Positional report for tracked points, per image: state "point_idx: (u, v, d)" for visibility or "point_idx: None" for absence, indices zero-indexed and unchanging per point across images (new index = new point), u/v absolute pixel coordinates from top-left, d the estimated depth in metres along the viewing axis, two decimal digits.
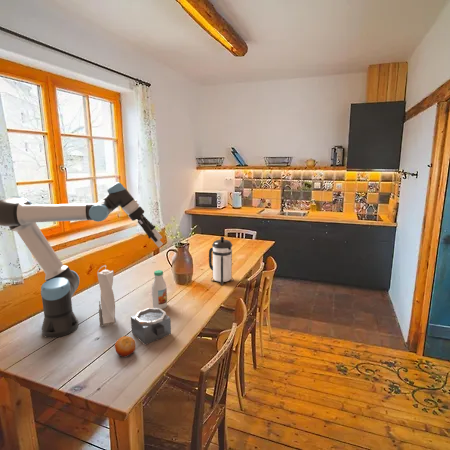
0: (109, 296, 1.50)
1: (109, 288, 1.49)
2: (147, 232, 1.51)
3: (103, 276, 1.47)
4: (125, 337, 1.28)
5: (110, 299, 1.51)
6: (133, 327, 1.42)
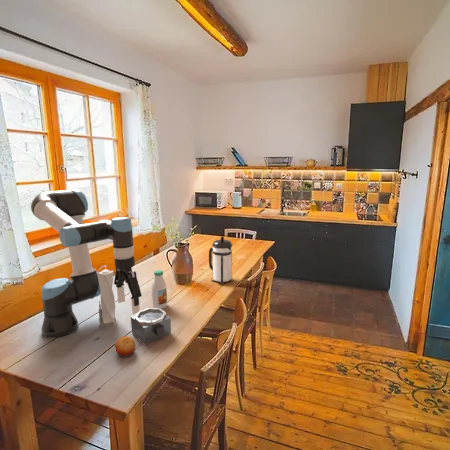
0: (109, 296, 1.50)
1: (109, 288, 1.50)
2: (136, 291, 1.18)
3: (103, 276, 1.48)
4: (125, 337, 1.28)
5: (110, 299, 1.51)
6: (133, 327, 1.42)
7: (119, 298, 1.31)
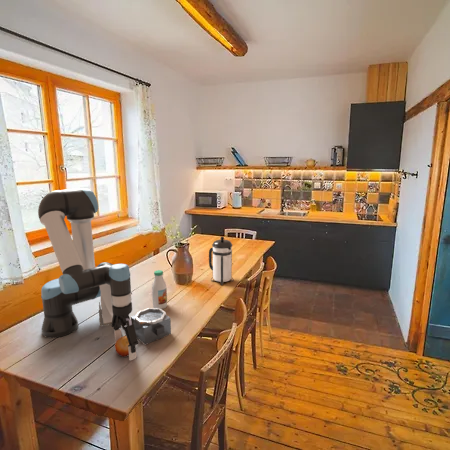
0: (109, 297, 1.49)
1: (109, 289, 1.48)
2: (132, 339, 1.19)
3: None
4: (125, 337, 1.28)
5: (110, 300, 1.50)
6: None
7: (116, 340, 1.32)
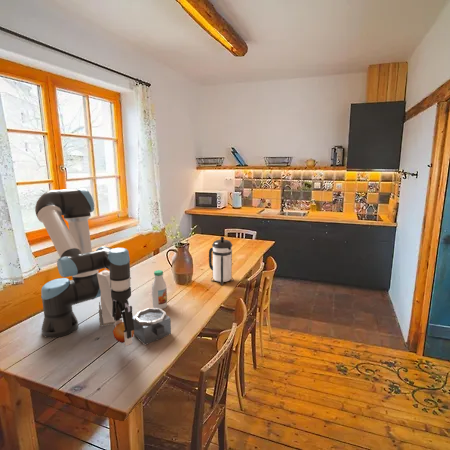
0: (109, 297, 1.50)
1: (109, 289, 1.48)
2: (129, 325, 1.20)
3: (103, 277, 1.46)
4: None
5: (110, 299, 1.50)
6: None
7: None
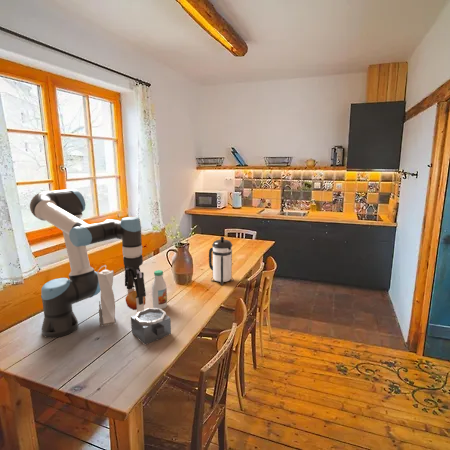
0: (109, 296, 1.50)
1: (109, 288, 1.49)
2: (141, 291, 1.24)
3: (103, 276, 1.47)
4: None
5: (110, 299, 1.51)
6: (133, 327, 1.42)
7: None
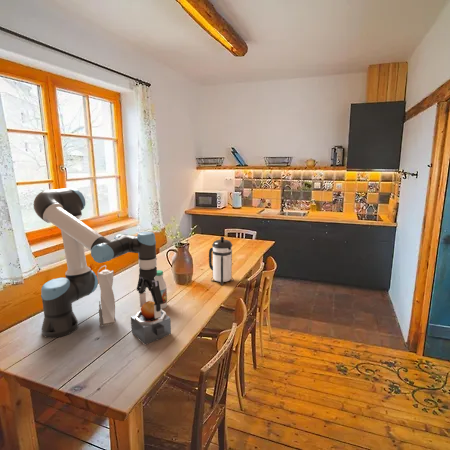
0: (109, 296, 1.50)
1: (109, 288, 1.50)
2: (158, 298, 1.33)
3: (103, 276, 1.48)
4: (150, 302, 1.42)
5: (110, 299, 1.51)
6: (133, 327, 1.42)
7: (141, 303, 1.45)
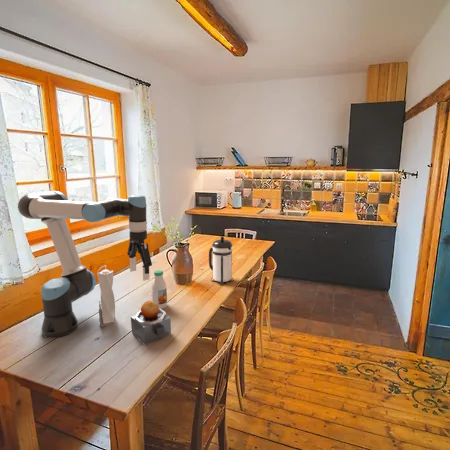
0: (109, 296, 1.50)
1: (109, 288, 1.50)
2: (147, 260, 1.34)
3: (103, 276, 1.48)
4: (150, 302, 1.42)
5: (110, 299, 1.51)
6: (133, 327, 1.42)
7: (131, 267, 1.47)
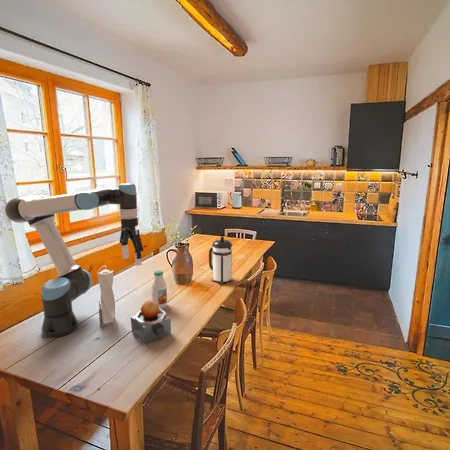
0: (109, 296, 1.50)
1: (109, 288, 1.50)
2: (138, 245, 1.39)
3: (103, 276, 1.48)
4: (150, 302, 1.42)
5: (110, 299, 1.51)
6: (133, 327, 1.42)
7: (124, 254, 1.52)
